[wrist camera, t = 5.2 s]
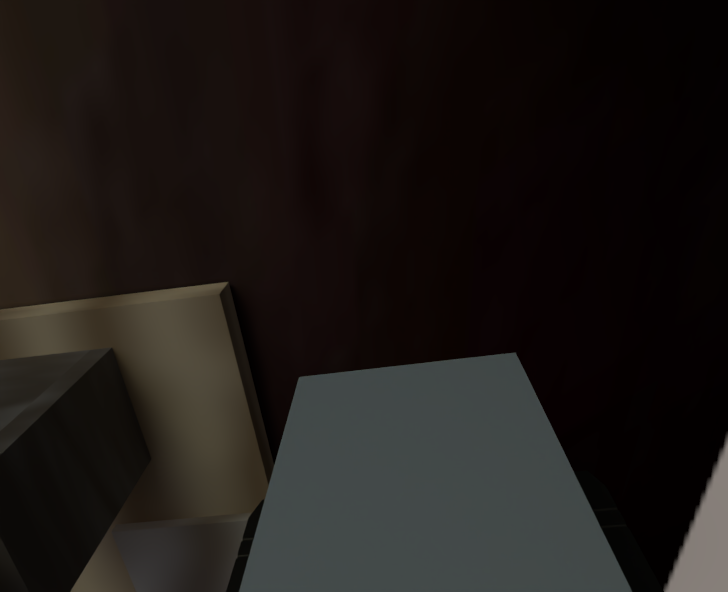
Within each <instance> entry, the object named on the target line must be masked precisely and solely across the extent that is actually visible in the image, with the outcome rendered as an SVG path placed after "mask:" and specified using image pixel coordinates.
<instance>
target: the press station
mask: <svg viewBox="0 0 728 592" xmlns="http://www.w3.org/2000/svg"><path fill="white" fill-rule="evenodd" d="M273 469H274V463H273V459H272V455H271V451H270V447H269V443H268V439H267V435H266V431H265V427H264V423H263V418H262V414H261V410H260V406H259V402H258V398H257V394H256V390H255V386H254V382H253V378H252V374H251V370H250V366H249V362H248V358H247V354H246V350H245V346H244V342H243V338H242V334H241V330H240V326H239V321H238V317H237V313H236V309H235V305H234V301H233V297H232V293H231V289H230V285H229V282H224V283H216V284H207V285H199V286H191V287H183V288H174V289H166V290H158V291H150V292H141V293H133V294H125V295H117V296H108V297H100V298H92V299H84V300H75V301H67V302H59V303H51V304H42V305H34V306H26V307H18V308H10V309H1V310H0V592H226V590H227V586H228V583H229V580H230V577H231V573H232V570H233V567H234V564H235V560H236V558H237V557H238V550H239V547H240V544H241V541H243V538H242V537H243V534H244V531H245V528H246V524H247V521H248V518H249V516H250V515H251V514H252V512H253V511H254V510H255V508H256V507H257V506H258V505H259V503H260V502H261V501H262V500H263V499H265V497H266V493H267V490H268V486H269V483H270V479H271V476H272V472H273Z"/></svg>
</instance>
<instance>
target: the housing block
mask: <svg viewBox="0 0 728 592" xmlns="http://www.w3.org/2000/svg"><path fill="white" fill-rule="evenodd" d="M239 592H632V590H631V588H630V586H629V584H628V582H627V580H626V578H625V576H624V574H623V572H622V570H621V568H620V566H619V564H618V562H617V560H616V558H615V556H614V554H613V551H612V549H611V547H610V545H609V543H608V541H607V539H606V537H605V535H604V533H603V531H602V529H601V527H600V525H599V523H598V521H597V519H596V517H595V515H594V513H593V511H592V508H591V506H590V504H589V502H588V500H587V498H586V496H585V494H584V492H583V490H582V488H581V486H580V484H579V482H578V480H577V478H576V476H575V474H574V472H573V470H572V467H571V465H570V463H569V461H568V459H567V457H566V455H565V453H564V451H563V449H562V447H561V445H560V443H559V441H558V439H557V437H556V435H555V433H554V431H553V429H552V427H551V424H550V422H549V420H548V418H547V416H546V414H545V412H544V410H543V408H542V406H541V404H540V402H539V400H538V398H537V396H536V394H535V392H534V390H533V388H532V386H531V384H530V381H529V379H528V377H527V375H526V373H525V371H524V369H523V367H522V365H521V363H520V361H519V359H518V357H517V355H516V353H508V354H499V355H491V356H482V357H473V358H464V359H455V360H446V361H438V362H429V363H420V364H411V365H402V366H393V367H385V368H376V369H367V370H358V371H349V372H340V373H332V374H323V375H314V376H305V377H299V379H298V383H297V387H296V390H295V394H294V397H293V401H292V404H291V408H290V411H289V415H288V419H287V422H286V426H285V429H284V433H283V436H282V440H281V444H280V447H279V451H278V454H277V458H276V461H275V465H274V469H273V472H272V476H271V479H270V483H269V486H268V490H267V493H266V497H265V501H264V504H263V508H262V511H261V515H260V518H259V522H258V526H257V529H256V533H255V536H254V540H253V543H252V547H251V551H250V554H249V558H248V561H247V565H246V568H245V572H244V575H243V579H242V583H241V586H240V590H239Z"/></svg>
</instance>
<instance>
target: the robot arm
mask: <svg viewBox="0 0 728 592" xmlns="http://www.w3.org/2000/svg"><path fill="white" fill-rule="evenodd" d="M574 474H575V476H576V478H577V480H578V482H579V484H580V486H581V488H582V490H583V492H584V494H585V496H586V498H587V500H588V502H589V504H590V506H591V508H592V511H593V513H594V515H595V517H596V519H597V521H598V523H599V525H600V527H601V529H602V531H603V533H604V535H605V537H606V539H607V541H608V543H609V545H610V547H611V549H612V551H613V554H614V556H615V558H616V560H617V562H618V564H619V566H620V568H621V570H622V572H623V574H624V576H625V578H626V580H627V582H628V584H629V586H630V588H631V590H632V592H664V591H663V589H662V588H661V586H660V584H659V582H658V580H657V578H656V577H655V575H654V573H653V571H652V569H651V568H650V566H649V564H648V562H647V560H646V558H645V557H644V555H643V553H642V551H641V549H640V548H639V546H638V544H637V542H636V540H635V538H634V537H633V535H632V533H631V531H630V529H629V528H628V527H627V526H626V522H625V520H624V518H623V517H622V515H621V513H620V511H619V510H617V506H616V504H615V502H614V500H613V498H612V497H611V495H610V493H609V491H608V489H607V488H606V486H605V485H604V484H602V483H601V482H600V481H599V480H598V479H597V478H595V477H594V476H593V475H592V474H591V473H590V472H588V471H587V470H586V471H575V472H574ZM264 501H265V499H263V500H262V501H261V502H260V503H259V505H258V506H257V507H256V508H255V510H254V511H253V512H252V514H251V515H250V516H249V518H248V521H247V524H246V528H245V531H244V534H243V537H242V538H243V541H241V544H240V547H239V550H238V557H237V558H236V560H235V564H234V567H233V570H232V573H231V577H230V580H229V583H228V586H227V590H226V592H239V590H240V586H241V583H242V579H243V575H244V572H245V568H246V565H247V561H248V558H249V554H250V551H251V547H252V543H253V540H254V536H255V533H256V529H257V526H258V522H259V518H260V515H261V511H262V508H263V504H264Z"/></svg>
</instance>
